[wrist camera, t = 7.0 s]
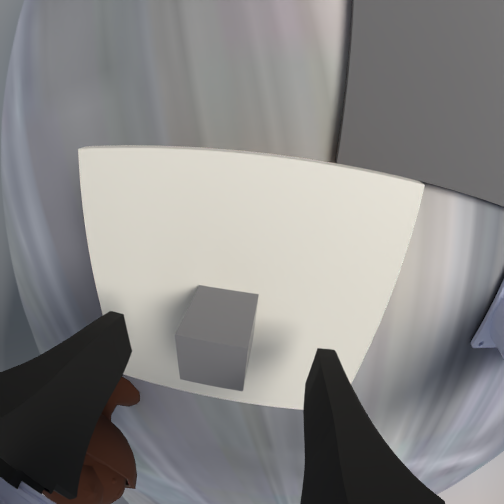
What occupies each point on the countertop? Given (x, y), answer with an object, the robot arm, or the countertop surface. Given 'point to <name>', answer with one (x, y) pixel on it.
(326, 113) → the countertop surface
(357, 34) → the mat
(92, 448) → the ice cream bowl
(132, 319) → the cover sheet
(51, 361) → the robot arm
